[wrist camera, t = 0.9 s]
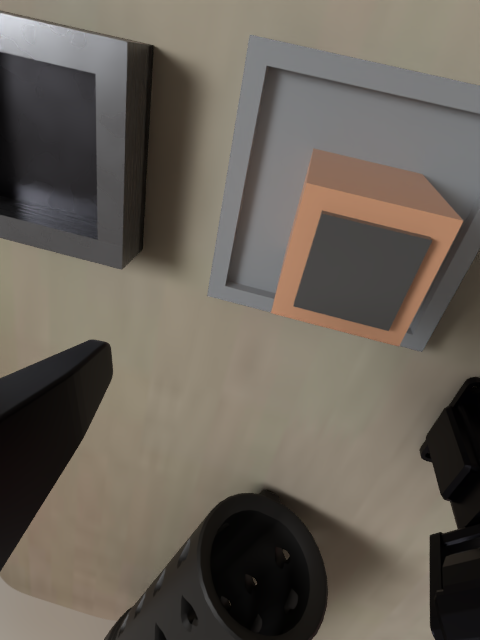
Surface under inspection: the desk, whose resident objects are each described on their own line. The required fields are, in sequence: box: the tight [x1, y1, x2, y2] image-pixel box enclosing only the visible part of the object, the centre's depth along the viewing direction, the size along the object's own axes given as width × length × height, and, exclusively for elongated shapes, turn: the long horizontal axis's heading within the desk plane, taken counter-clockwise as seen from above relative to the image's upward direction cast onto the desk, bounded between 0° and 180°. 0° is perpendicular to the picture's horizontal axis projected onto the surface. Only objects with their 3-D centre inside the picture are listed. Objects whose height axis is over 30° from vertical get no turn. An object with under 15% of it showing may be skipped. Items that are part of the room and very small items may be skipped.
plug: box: [271, 148, 463, 346], centre depth 15 cm, size 4×4×6 cm
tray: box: [207, 35, 480, 352], centre depth 18 cm, size 11×11×1 cm
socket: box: [0, 11, 154, 269], centre depth 18 cm, size 9×9×2 cm
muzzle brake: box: [104, 490, 328, 640], centre depth 33 cm, size 10×28×10 cm, turn 155°
